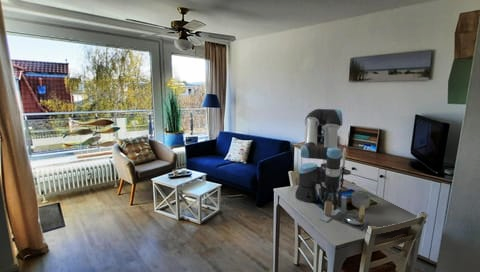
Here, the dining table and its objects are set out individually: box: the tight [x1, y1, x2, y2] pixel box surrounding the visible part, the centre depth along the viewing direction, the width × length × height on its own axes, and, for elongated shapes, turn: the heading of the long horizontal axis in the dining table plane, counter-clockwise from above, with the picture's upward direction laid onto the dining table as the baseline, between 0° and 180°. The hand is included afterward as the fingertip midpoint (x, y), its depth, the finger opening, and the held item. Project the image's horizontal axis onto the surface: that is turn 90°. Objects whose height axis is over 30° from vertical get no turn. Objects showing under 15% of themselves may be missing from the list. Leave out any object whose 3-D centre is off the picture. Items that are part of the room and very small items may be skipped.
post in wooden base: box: [324, 199, 342, 217], centre depth 150 cm, size 18×4×9 cm, turn 135°
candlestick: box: [337, 143, 352, 193], centre depth 181 cm, size 11×11×35 cm
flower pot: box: [318, 186, 339, 203], centre depth 163 cm, size 9×9×9 cm
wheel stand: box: [339, 217, 369, 231], centre depth 140 cm, size 11×11×1 cm
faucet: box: [344, 205, 366, 225], centre depth 138 cm, size 10×10×11 cm
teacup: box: [350, 190, 371, 210], centre depth 159 cm, size 14×11×8 cm
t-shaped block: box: [319, 194, 348, 223], centre depth 148 cm, size 22×9×9 cm, turn 135°
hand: (329, 213), depth 146 cm, fingers closed on post in wooden base, 4 cm apart
